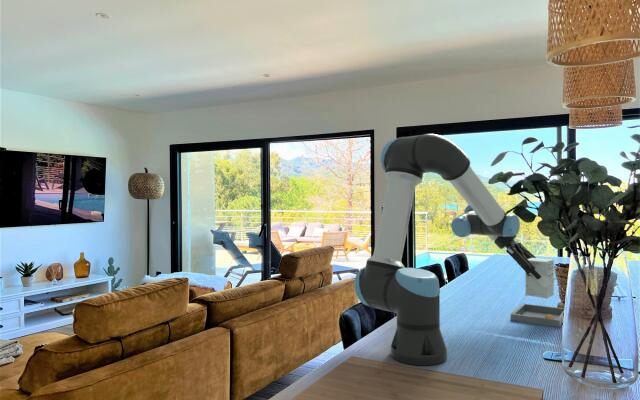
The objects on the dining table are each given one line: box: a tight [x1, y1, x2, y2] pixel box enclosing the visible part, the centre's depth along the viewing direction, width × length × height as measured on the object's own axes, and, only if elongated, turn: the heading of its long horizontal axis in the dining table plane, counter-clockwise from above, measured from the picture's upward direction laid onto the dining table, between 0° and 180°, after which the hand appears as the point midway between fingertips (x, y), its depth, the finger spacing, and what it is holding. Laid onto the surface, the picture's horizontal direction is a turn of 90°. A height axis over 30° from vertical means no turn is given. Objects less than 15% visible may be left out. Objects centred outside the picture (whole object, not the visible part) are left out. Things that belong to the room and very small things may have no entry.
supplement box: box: [525, 257, 555, 299], centre depth 158 cm, size 7×7×13 cm
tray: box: [510, 303, 564, 328], centre depth 158 cm, size 18×15×3 cm
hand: (550, 283), depth 155 cm, fingers closed on supplement box, 8 cm apart
